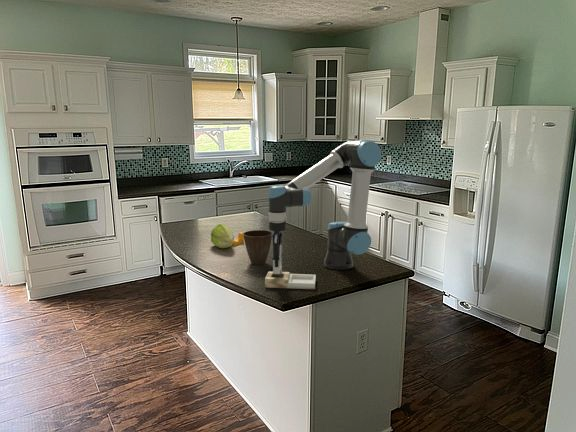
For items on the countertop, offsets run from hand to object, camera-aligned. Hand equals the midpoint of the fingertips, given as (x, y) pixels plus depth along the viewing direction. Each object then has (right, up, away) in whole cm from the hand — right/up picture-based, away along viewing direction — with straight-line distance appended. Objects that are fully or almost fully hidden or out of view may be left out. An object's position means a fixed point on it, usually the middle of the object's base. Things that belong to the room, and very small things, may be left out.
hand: (277, 271), depth 192 cm
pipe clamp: (-27, +7, +67) cm, 73 cm away
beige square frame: (0, -6, +1) cm, 6 cm away
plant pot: (-11, 0, +32) cm, 34 cm away
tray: (+11, -6, +1) cm, 13 cm away
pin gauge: (0, -4, +1) cm, 4 cm away
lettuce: (-32, +6, +58) cm, 66 cm away
